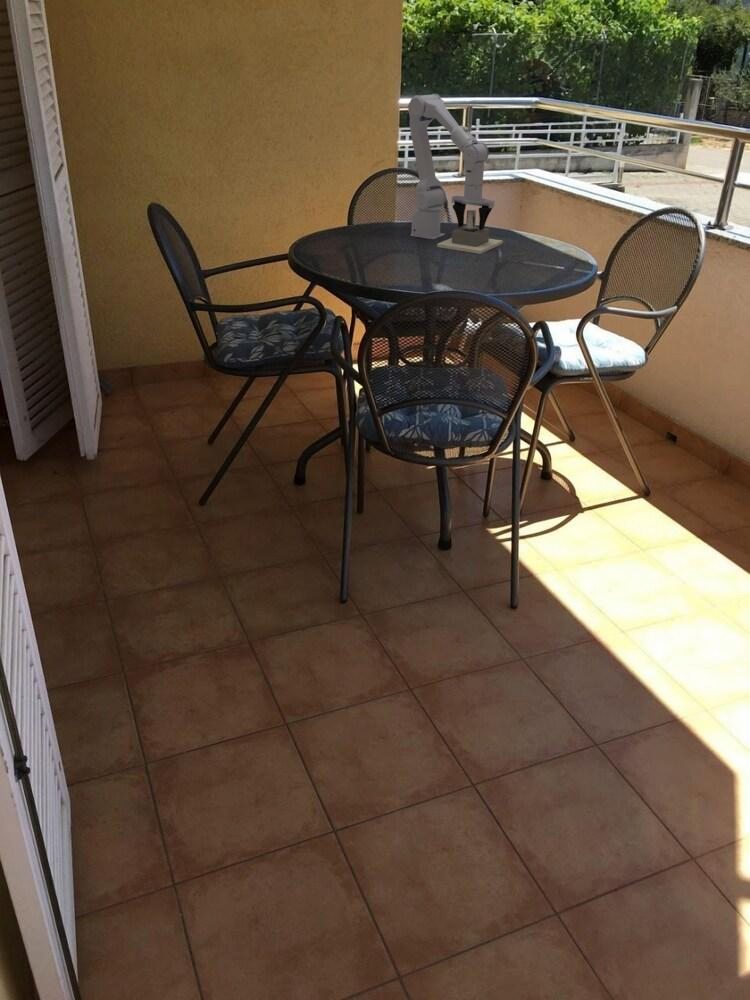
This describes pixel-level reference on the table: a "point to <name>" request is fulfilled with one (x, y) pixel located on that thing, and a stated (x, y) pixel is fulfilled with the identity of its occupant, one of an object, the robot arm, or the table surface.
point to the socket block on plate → (470, 241)
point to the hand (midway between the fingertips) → (471, 227)
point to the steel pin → (471, 220)
